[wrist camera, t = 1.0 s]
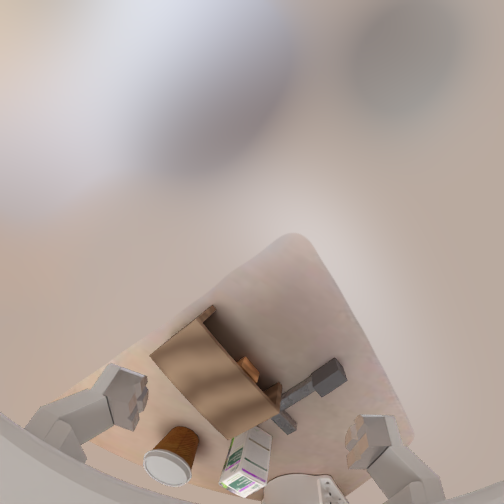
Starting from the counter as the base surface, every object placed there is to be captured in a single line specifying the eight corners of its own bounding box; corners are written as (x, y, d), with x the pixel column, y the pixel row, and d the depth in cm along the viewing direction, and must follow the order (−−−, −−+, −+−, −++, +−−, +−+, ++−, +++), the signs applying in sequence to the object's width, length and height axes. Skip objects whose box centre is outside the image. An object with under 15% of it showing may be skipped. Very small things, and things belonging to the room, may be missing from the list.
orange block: (259, 372, 49) (257, 382, 46) (242, 383, 50) (238, 394, 46) (245, 356, 50) (241, 365, 46) (228, 367, 50) (223, 377, 46)
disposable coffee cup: (184, 457, 53) (166, 491, 41) (155, 428, 53) (131, 460, 42) (215, 445, 52) (200, 482, 40) (185, 414, 52) (162, 448, 40)
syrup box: (250, 421, 50) (237, 470, 36) (273, 436, 50) (266, 486, 35) (232, 436, 51) (216, 484, 37) (255, 450, 51) (244, 499, 36)
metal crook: (356, 384, 47) (362, 398, 42) (288, 427, 49) (287, 443, 44) (334, 357, 47) (338, 369, 42) (264, 403, 50) (261, 418, 45)
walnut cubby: (282, 385, 49) (279, 413, 40) (237, 412, 50) (227, 440, 42) (212, 304, 50) (196, 319, 41) (170, 337, 51) (149, 355, 42)
